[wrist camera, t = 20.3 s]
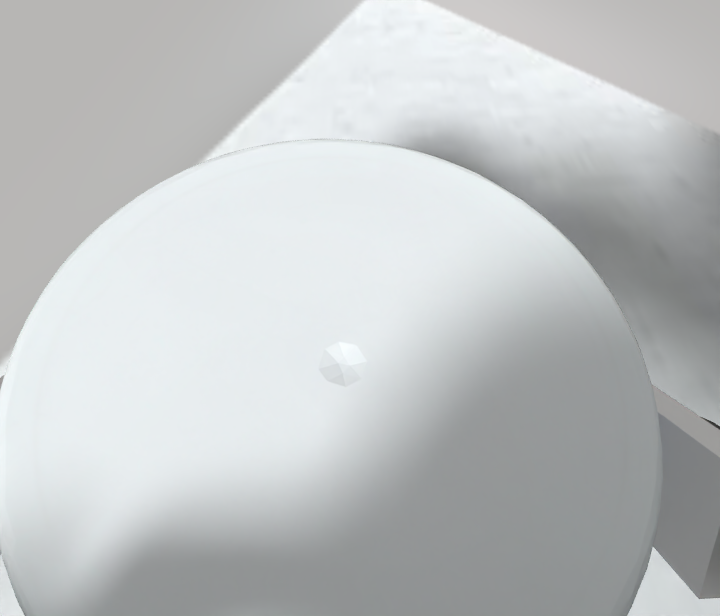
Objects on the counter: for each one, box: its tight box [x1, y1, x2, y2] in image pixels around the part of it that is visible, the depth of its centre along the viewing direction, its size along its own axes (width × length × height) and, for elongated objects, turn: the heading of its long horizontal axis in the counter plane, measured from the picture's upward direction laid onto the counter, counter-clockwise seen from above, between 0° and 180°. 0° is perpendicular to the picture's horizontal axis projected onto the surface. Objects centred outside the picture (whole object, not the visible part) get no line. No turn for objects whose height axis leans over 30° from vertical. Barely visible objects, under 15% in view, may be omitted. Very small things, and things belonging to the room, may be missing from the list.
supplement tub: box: [0, 139, 663, 616], centre depth 13 cm, size 10×10×15 cm
